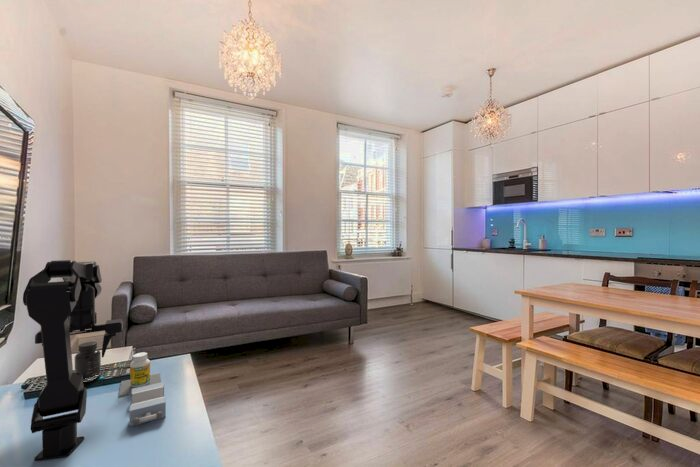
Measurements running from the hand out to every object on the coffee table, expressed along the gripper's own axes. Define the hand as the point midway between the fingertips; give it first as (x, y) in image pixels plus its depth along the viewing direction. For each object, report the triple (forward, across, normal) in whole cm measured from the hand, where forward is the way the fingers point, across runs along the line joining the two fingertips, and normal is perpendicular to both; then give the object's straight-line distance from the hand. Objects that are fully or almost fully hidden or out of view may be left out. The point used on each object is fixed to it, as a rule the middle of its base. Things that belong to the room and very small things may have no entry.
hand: (82, 360), depth 92 cm
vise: (+13, -16, +14) cm, 25 cm away
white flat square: (+13, -14, -6) cm, 20 cm away
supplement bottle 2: (+13, -14, -6) cm, 19 cm away
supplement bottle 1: (+13, +1, -20) cm, 24 cm away
